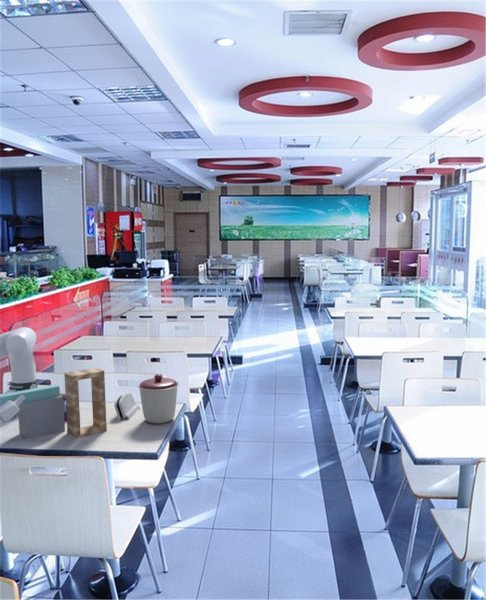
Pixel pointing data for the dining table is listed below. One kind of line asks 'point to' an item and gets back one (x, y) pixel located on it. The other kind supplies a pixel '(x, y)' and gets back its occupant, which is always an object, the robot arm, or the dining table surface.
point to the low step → (41, 417)
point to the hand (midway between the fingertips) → (20, 393)
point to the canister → (158, 399)
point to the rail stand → (97, 402)
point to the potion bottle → (64, 406)
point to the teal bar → (32, 394)
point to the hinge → (125, 406)
